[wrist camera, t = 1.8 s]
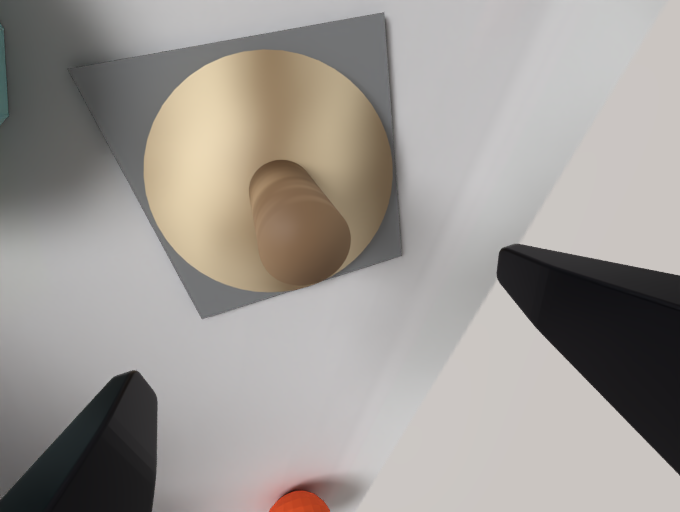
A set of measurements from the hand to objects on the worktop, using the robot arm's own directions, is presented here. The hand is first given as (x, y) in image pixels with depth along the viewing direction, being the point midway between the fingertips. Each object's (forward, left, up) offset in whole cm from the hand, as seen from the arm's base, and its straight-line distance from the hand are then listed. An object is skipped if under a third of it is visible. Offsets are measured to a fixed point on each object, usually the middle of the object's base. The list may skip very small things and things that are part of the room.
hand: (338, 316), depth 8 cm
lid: (0, 0, -11) cm, 11 cm away
